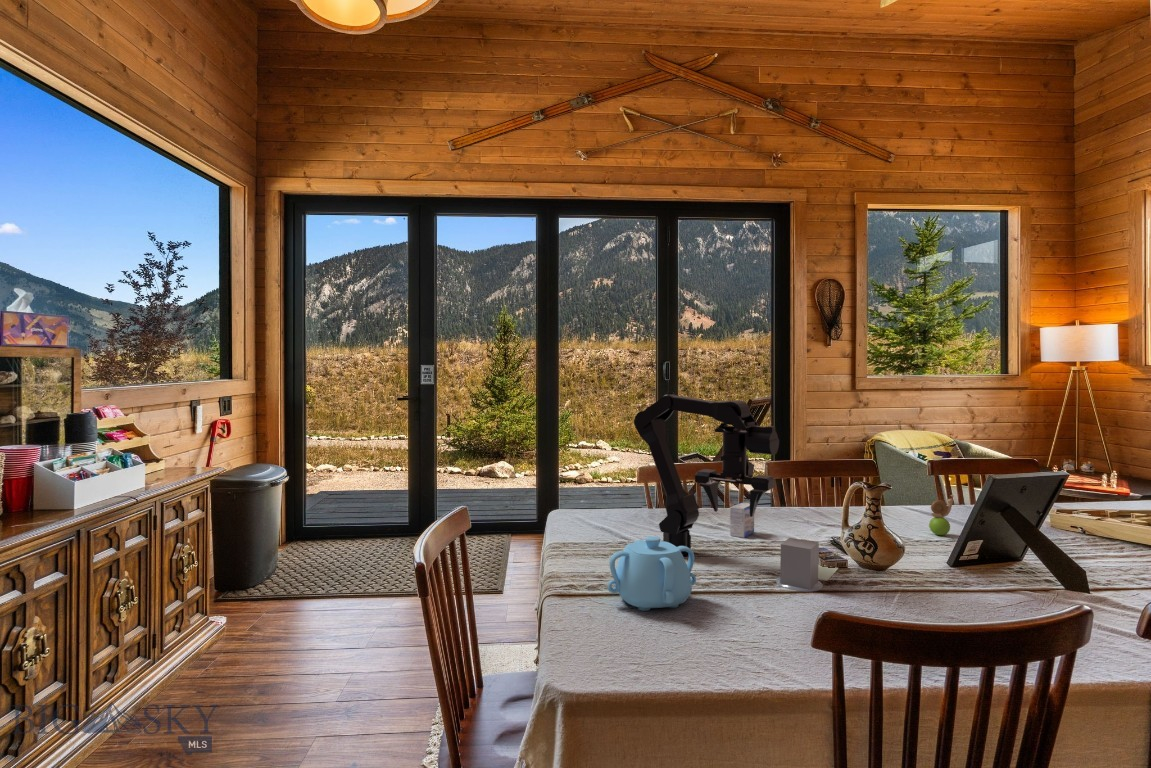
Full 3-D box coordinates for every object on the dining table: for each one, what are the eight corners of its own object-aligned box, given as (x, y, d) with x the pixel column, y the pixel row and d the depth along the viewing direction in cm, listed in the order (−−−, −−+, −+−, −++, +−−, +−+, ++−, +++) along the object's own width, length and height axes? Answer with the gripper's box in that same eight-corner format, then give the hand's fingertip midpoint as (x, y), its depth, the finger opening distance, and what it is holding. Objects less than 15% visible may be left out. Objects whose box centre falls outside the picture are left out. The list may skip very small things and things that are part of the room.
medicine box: (744, 538, 184) (744, 508, 184) (729, 535, 187) (729, 506, 186) (754, 532, 190) (754, 503, 190) (740, 530, 193) (740, 501, 193)
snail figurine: (957, 537, 186) (958, 496, 185) (935, 537, 186) (936, 496, 186) (946, 532, 191) (947, 493, 191) (925, 532, 191) (926, 492, 191)
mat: (779, 573, 154) (779, 571, 154) (792, 561, 163) (792, 559, 163) (827, 582, 147) (827, 580, 147) (838, 569, 156) (838, 568, 156)
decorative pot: (668, 623, 124) (669, 554, 123) (599, 604, 133) (599, 539, 133) (703, 598, 137) (704, 536, 136) (638, 582, 146) (639, 524, 146)
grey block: (780, 583, 144) (780, 544, 144) (789, 575, 150) (789, 537, 150) (810, 589, 141) (810, 549, 140) (818, 581, 146) (818, 542, 146)
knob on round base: (796, 595, 139) (796, 579, 139) (766, 580, 148) (767, 565, 148) (832, 589, 142) (832, 573, 142) (801, 575, 152) (801, 560, 152)
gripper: (782, 450, 159) (781, 513, 160) (711, 445, 170) (711, 503, 170) (767, 456, 150) (766, 522, 151) (694, 449, 161) (693, 511, 161)
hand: (733, 513), depth 158 cm, fingers open, 9 cm apart
